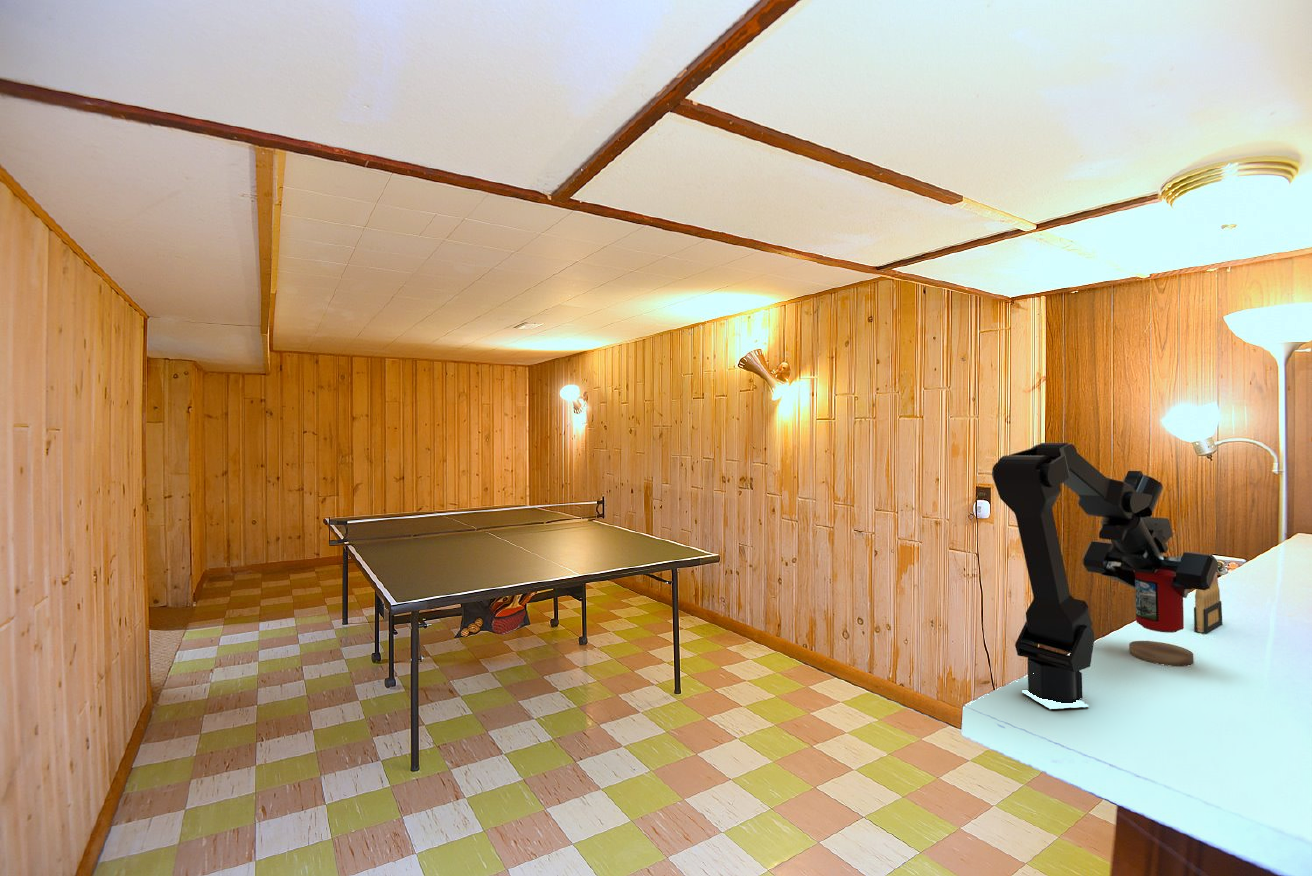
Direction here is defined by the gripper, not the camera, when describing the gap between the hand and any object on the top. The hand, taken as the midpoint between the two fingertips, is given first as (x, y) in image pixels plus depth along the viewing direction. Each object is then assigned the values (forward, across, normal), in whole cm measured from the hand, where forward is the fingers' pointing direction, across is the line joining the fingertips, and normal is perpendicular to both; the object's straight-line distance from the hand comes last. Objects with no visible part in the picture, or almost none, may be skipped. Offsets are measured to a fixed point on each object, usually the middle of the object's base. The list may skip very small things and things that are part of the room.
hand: (1162, 591), depth 110 cm
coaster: (+8, 0, +9) cm, 12 cm away
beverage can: (+4, 0, +6) cm, 7 cm away
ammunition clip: (+27, +3, -10) cm, 29 cm away
